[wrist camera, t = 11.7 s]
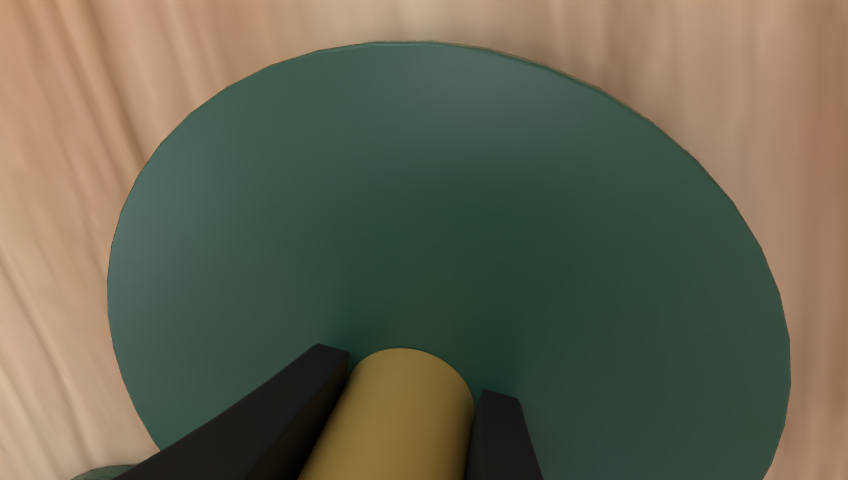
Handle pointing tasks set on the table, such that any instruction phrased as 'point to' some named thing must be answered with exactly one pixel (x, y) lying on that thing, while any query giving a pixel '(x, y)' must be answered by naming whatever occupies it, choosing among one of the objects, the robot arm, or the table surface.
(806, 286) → the table surface
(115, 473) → the tin
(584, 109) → the lid
